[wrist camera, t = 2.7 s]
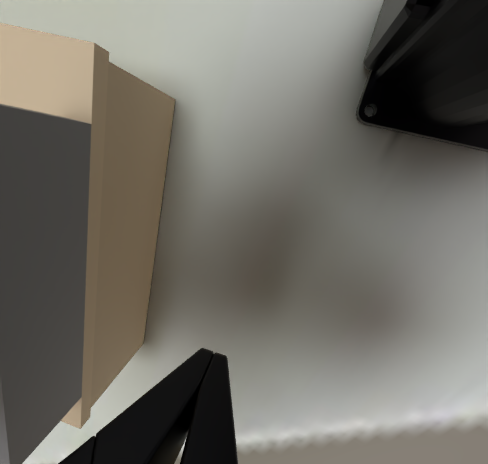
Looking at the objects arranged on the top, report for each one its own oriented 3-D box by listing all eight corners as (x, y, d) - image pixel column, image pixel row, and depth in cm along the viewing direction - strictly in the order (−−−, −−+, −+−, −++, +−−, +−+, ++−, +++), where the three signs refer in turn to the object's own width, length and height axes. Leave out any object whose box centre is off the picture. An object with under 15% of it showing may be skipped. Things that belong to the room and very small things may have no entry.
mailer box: (175, 99, 12) (104, 58, 8) (143, 343, 17) (87, 411, 12) (-50, 47, 14) (-227, -14, 9) (-21, 285, 19) (-127, 327, 14)
